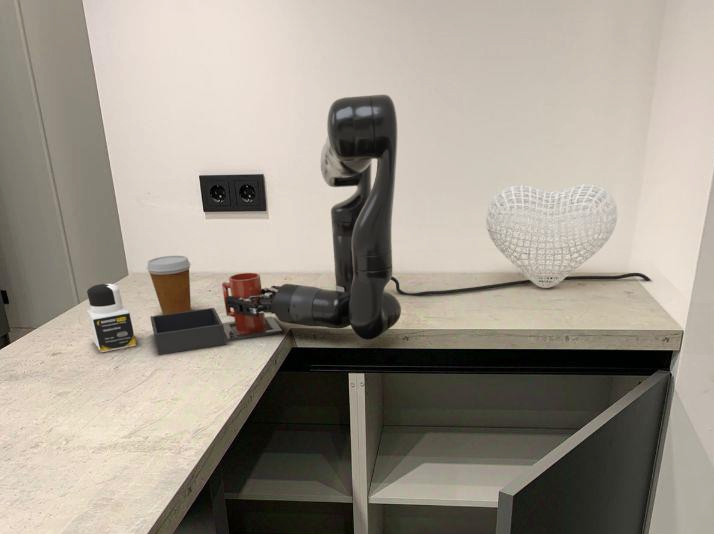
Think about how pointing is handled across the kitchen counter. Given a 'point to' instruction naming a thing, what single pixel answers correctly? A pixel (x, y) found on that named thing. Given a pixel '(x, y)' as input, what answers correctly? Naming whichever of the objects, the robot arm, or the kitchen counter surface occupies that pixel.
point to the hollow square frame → (232, 336)
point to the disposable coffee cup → (171, 283)
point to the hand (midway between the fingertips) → (238, 297)
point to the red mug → (245, 288)
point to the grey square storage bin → (187, 331)
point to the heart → (551, 196)
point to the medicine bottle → (109, 318)
